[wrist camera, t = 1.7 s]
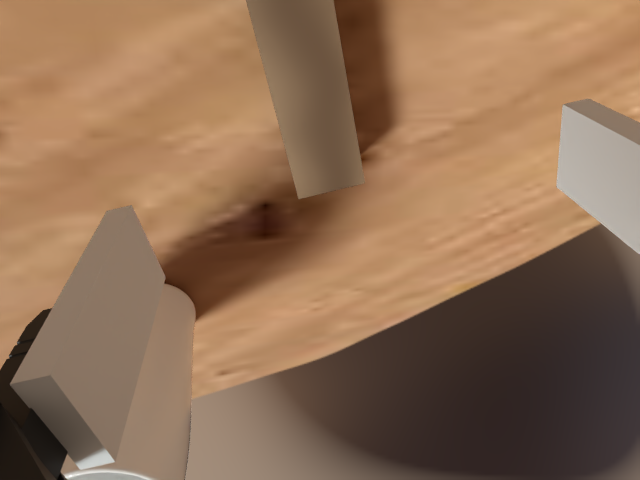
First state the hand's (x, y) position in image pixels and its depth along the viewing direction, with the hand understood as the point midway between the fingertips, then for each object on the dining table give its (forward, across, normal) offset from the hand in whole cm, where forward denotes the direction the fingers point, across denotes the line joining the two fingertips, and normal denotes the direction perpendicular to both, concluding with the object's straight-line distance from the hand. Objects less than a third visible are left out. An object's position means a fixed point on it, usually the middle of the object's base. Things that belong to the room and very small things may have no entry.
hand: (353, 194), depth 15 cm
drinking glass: (+16, -14, -14) cm, 25 cm away
